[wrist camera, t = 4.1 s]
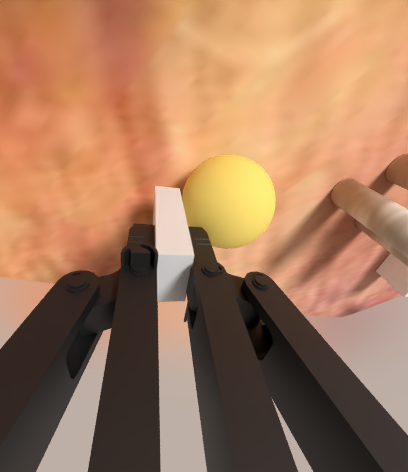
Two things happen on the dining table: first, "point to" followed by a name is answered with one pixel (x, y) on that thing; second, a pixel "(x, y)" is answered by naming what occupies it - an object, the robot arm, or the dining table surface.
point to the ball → (229, 200)
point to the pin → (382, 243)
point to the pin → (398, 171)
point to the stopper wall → (395, 274)
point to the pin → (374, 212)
